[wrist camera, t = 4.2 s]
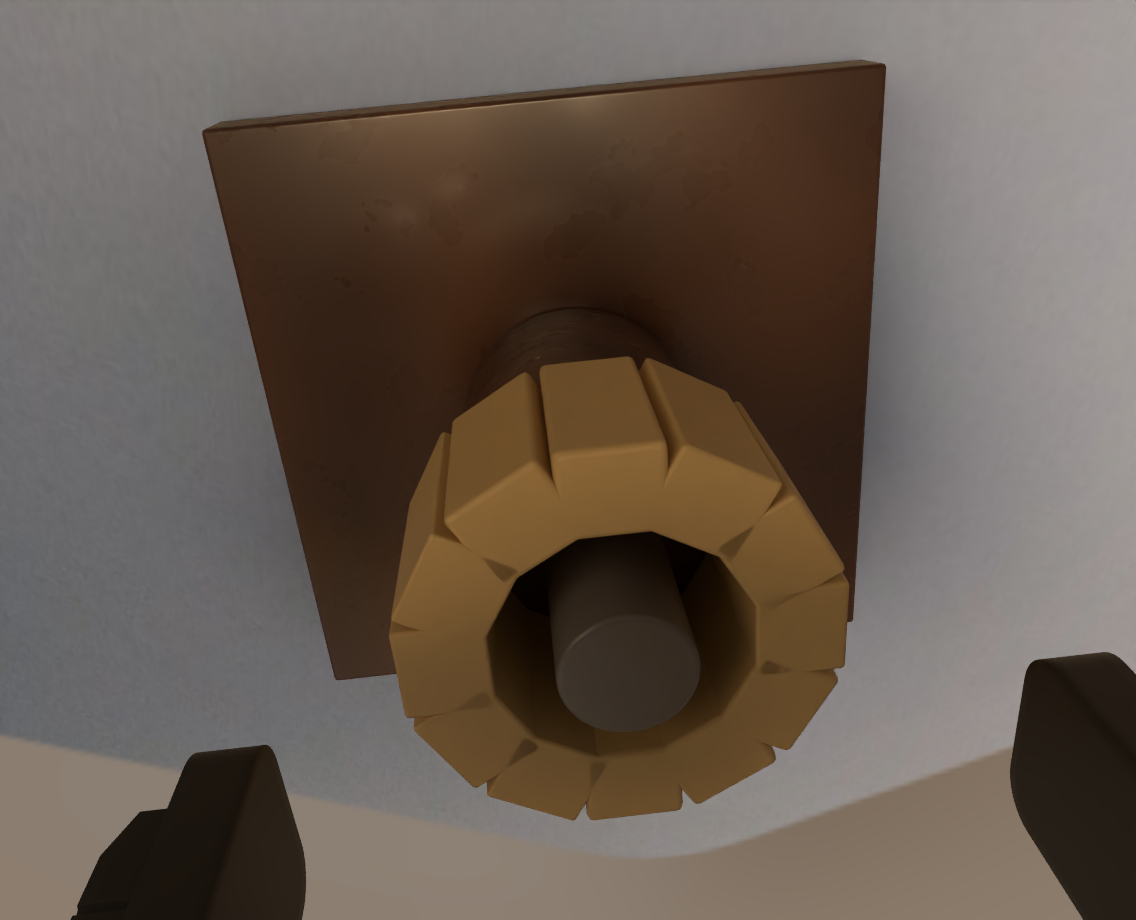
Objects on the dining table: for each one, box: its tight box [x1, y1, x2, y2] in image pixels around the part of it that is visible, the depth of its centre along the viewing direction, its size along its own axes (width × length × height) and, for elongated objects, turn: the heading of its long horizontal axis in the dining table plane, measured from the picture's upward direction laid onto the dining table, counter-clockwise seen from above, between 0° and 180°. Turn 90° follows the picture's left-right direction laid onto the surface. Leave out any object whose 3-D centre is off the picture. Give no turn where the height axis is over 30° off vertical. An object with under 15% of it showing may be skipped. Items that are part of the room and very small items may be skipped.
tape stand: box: [202, 60, 886, 732], centre depth 16 cm, size 12×12×10 cm
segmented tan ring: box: [389, 357, 849, 820], centre depth 13 cm, size 6×6×3 cm
